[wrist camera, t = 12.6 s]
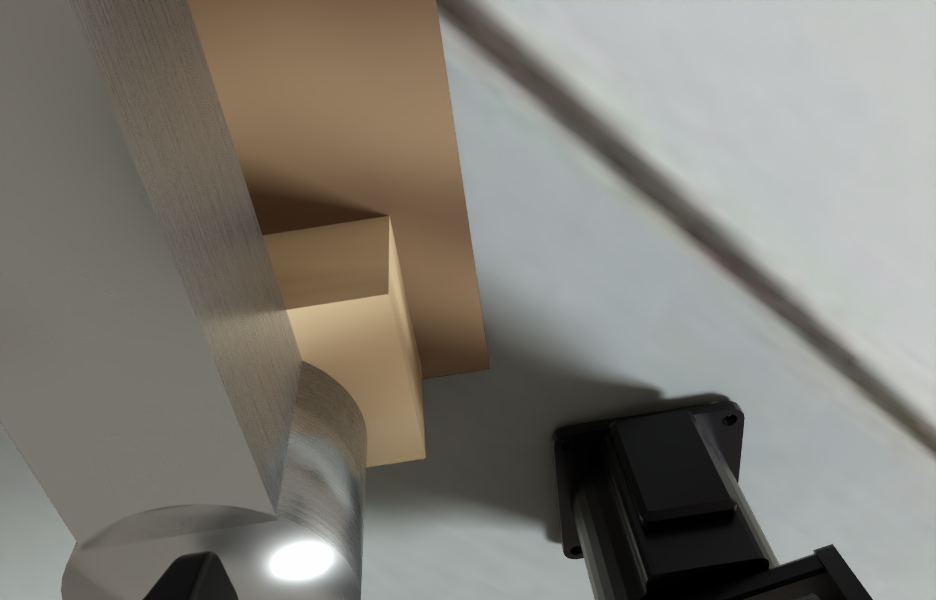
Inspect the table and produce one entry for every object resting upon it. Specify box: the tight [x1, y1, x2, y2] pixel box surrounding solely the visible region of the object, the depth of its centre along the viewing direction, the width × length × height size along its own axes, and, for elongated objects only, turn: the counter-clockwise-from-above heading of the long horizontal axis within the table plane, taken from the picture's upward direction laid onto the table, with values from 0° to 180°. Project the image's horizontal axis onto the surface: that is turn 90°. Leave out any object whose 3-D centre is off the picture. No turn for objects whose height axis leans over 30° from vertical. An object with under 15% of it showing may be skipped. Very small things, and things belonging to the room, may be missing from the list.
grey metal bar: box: [0, 0, 367, 600], centre depth 11 cm, size 26×6×4 cm, turn 7°
